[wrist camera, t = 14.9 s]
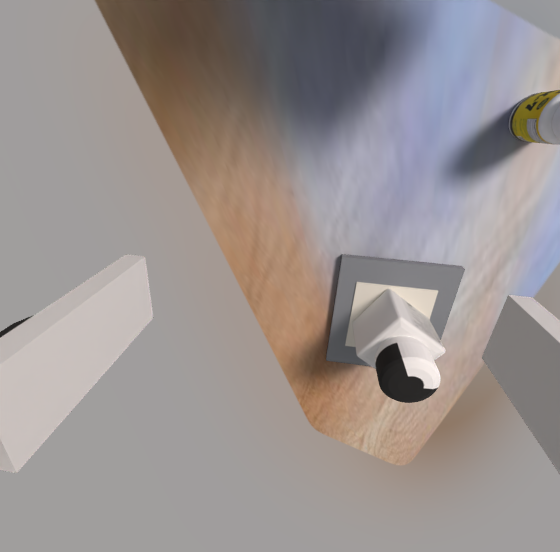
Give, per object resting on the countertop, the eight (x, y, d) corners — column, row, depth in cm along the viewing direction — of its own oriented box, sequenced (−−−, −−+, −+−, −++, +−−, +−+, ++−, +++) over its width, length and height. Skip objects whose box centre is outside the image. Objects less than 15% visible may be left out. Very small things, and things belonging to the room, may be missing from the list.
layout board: (342, 254, 44) (342, 257, 43) (461, 266, 43) (465, 269, 42) (326, 356, 52) (326, 361, 51) (427, 369, 51) (429, 374, 50)
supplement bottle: (551, 83, 34) (617, 71, 26) (560, 126, 35) (625, 127, 27) (501, 109, 35) (550, 105, 27) (512, 149, 36) (561, 156, 29)
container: (389, 350, 49) (410, 421, 37) (350, 322, 48) (359, 387, 36) (429, 317, 46) (465, 384, 34) (388, 286, 44) (411, 345, 33)
